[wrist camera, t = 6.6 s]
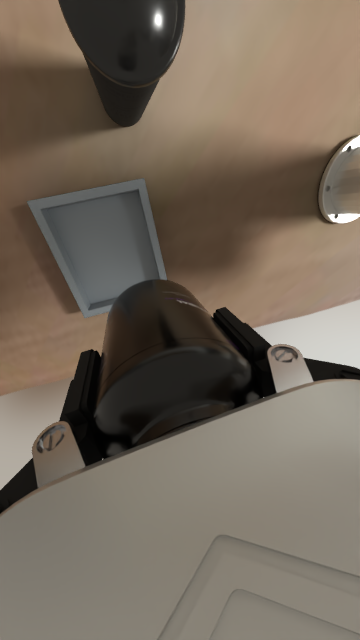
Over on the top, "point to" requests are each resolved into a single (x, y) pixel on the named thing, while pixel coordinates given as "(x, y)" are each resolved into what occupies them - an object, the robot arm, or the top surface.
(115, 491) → the robot arm
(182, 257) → the top surface
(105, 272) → the tray
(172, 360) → the supplement bottle
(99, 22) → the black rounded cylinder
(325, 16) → the top surface
